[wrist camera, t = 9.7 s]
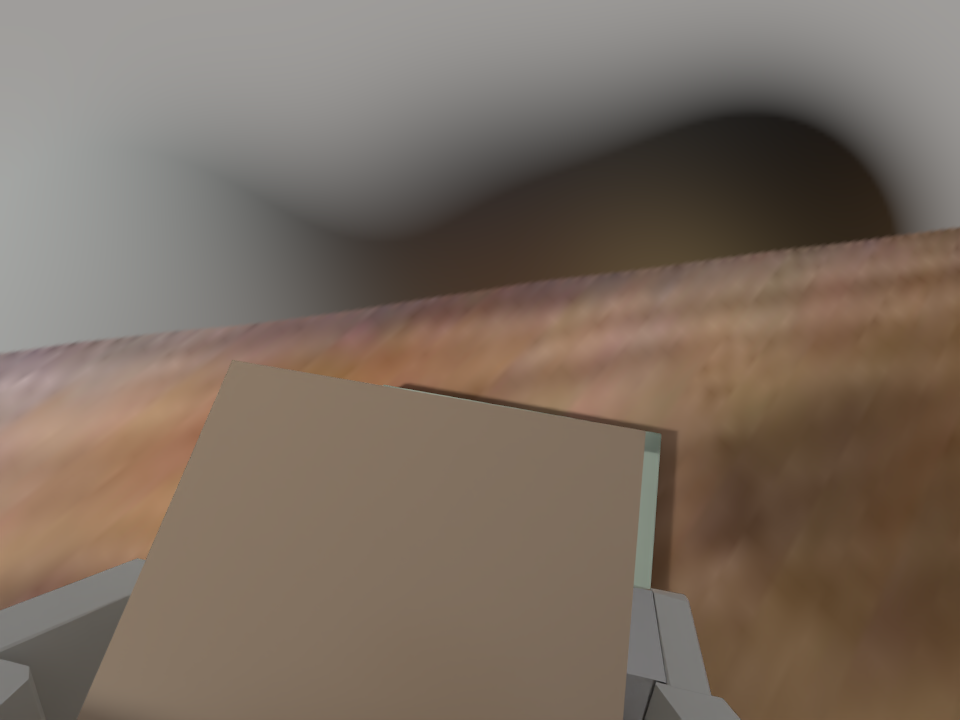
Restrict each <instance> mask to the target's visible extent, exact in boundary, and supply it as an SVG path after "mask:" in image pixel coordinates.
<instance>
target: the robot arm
mask: <svg viewBox="0 0 960 720" xmlns="http://www.w3.org/2000/svg"><path fill="white" fill-rule="evenodd" d="M145 561H146V560H142V559H138V558H137V559H135V560H132V561H129V562H127V563H124V564H122V565H119V566H116V567H114V568H111V569H108V570H106V571H103V572H101V573H98V574H95V575H93V576H90V577H87V578H85V579H82V580H79V581H77V582H74V583H72V584H69V585H66V586H64V587H61V588H58V589H56V590H53V591H51V592H48V593H45V594H43V595H40V596H37V597H35V598H32V599H30V600H27V601H24V602H22V603H19V604H16V605H14V606H11V607H9V608H6V609H3V610H1V611H0V720H77V717H78V715H79V713H80V710H81V708H82V706H83V703H84V701H85V699H86V697H87V694H88V692H89V690H90V687H91V685H92V683H93V680H94V678H95V676H96V673H97V671H98V669H99V667H100V664H101V662H102V660H103V657H104V655H105V653H106V650H107V648H108V646H109V643H110V641H111V639H112V637H113V634H114V632H115V630H116V627H117V625H118V623H119V620H120V618H121V616H122V614H123V611H124V609H125V607H126V604H127V602H128V600H129V597H130V595H131V593H132V590H133V588H134V586H135V584H136V581H137V579H138V577H139V574H140V572H141V570H142V567H143V565H144V563H145ZM623 720H741V719H740V718H739V717H738V715H737V714H736V713H735V712H734V711H733V710H732V708H731V707H730V706H729V705H728V704H727V702H726V701H725V700H724V699H723V698H719V697H716V696H712V695H711V691H710V687H709V683H708V679H707V674H706V670H705V666H704V662H703V658H702V654H701V649H700V645H699V641H698V637H697V633H696V629H695V625H694V620H693V616H692V612H691V608H690V604H689V600H688V599H687V597H686V596H685V595H684V594H679V593H674V592H669V591H664V590H658V589H653V588H650V589H648V588H646V587H641V586H636V585H634V586H633V599H632V611H631V624H630V637H629V649H628V662H627V674H626V687H625V700H624V712H623Z"/></svg>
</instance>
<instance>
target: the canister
mask: <svg viewBox="0 0 960 720" xmlns="http://www.w3.org/2000/svg"><path fill="white" fill-rule="evenodd" d="M645 435H646V431H644V430H638V429H632V428H626V427H620V426H615V425H609V424H603V423H597V422H591V421H585V420H580V419H574V418H568V417H562V416H556V415H550V414H544V413H539V412H533V411H527V410H521V409H515V408H509V407H504V406H498V405H492V404H486V403H480V402H474V401H469V400H463V399H457V398H451V397H445V396H439V395H434V394H428V393H422V392H416V391H410V390H404V389H399V388H393V387H387V386H381V385H375V384H369V383H364V382H358V381H352V380H346V379H340V378H334V377H329V376H323V375H317V374H311V373H305V372H299V371H294V370H288V369H282V368H276V367H270V366H264V365H259V364H253V363H247V362H241V361H235V360H232V362H231V365H230V367H229V369H228V371H227V374H226V376H225V378H224V381H223V383H222V385H221V388H220V390H219V392H218V395H217V397H216V399H215V401H214V404H213V406H212V408H211V411H210V413H209V415H208V418H207V420H206V422H205V425H204V427H203V429H202V431H201V434H200V436H199V438H198V441H197V443H196V445H195V448H194V450H193V452H192V454H191V457H190V459H189V461H188V464H187V466H186V468H185V471H184V473H183V475H182V478H181V480H180V482H179V484H178V487H177V489H176V491H175V494H174V496H173V498H172V501H171V503H170V505H169V507H168V510H167V512H166V514H165V517H164V519H163V521H162V524H161V526H160V528H159V531H158V533H157V535H156V537H155V540H154V542H153V544H152V547H151V549H150V551H149V554H148V556H147V558H146V561H145V563H144V565H143V567H142V570H141V572H140V574H139V577H138V579H137V581H136V584H135V586H134V588H133V590H132V593H131V595H130V597H129V600H128V602H127V604H126V607H125V609H124V611H123V614H122V616H121V618H120V620H119V623H118V625H117V627H116V630H115V632H114V634H113V637H112V639H111V641H110V643H109V646H108V648H107V650H106V653H105V655H104V657H103V660H102V662H101V664H100V667H99V669H98V671H97V673H96V676H95V678H94V680H93V683H92V685H91V687H90V690H89V692H88V694H87V697H86V699H85V701H84V703H83V706H82V708H81V710H80V713H79V715H78V717H77V720H623V712H624V700H625V687H626V674H627V662H628V649H629V637H630V624H631V611H632V599H633V586H634V574H635V561H636V548H637V536H638V523H639V511H640V498H641V485H642V473H643V460H644V448H645Z"/></svg>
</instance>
